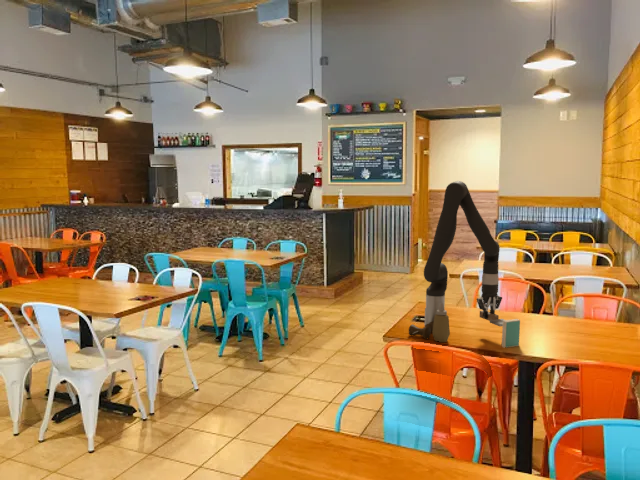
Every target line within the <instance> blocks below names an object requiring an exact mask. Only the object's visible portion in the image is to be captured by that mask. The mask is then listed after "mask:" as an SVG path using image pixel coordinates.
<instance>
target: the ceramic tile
mask: <svg viewBox="0 0 640 480" xmlns="http://www.w3.org/2000/svg"><path fill="white" fill-rule="evenodd" d="M520 327H521V320H520V319H519V318H514V319H504V321H503V326H502V332H501V333H502V335H501V347H502V348H505V347H506V348H512V347H519V346H520V329H521V328H520Z"/></svg>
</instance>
